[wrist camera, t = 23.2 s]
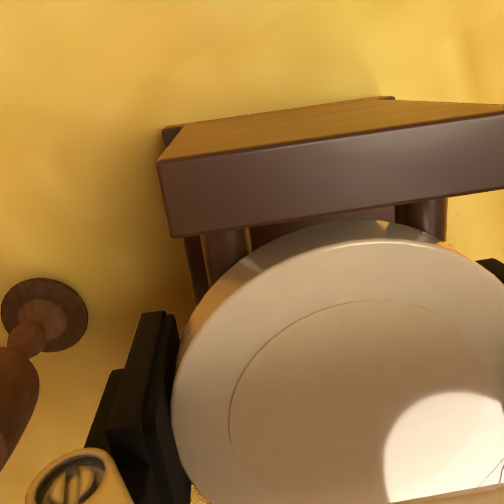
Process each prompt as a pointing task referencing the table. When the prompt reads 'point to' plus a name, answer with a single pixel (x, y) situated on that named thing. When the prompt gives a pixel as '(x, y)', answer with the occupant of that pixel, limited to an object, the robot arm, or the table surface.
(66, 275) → the table surface
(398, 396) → the cream plate
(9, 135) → the table surface
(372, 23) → the table surface
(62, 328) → the place setting
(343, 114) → the plate rack
